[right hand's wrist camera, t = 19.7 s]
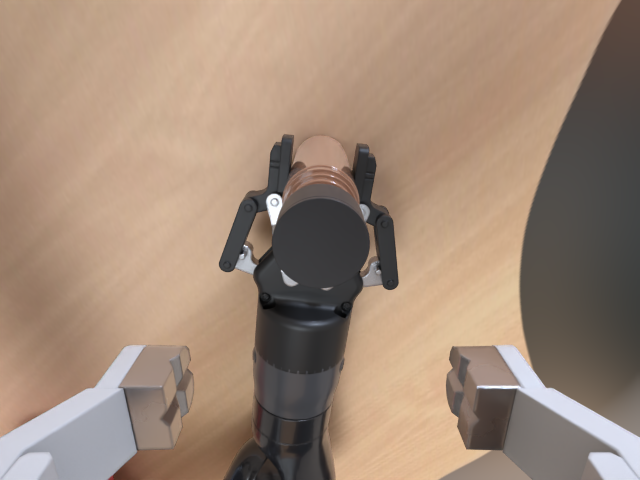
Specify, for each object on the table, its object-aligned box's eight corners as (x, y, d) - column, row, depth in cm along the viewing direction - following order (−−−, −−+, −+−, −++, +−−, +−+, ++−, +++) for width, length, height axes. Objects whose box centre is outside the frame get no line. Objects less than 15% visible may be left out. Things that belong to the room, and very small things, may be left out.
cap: (370, 256, 21) (376, 279, 19) (288, 271, 21) (284, 296, 19) (356, 175, 19) (361, 189, 17) (268, 192, 20) (260, 208, 17)
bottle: (351, 181, 36) (378, 277, 19) (300, 191, 36) (283, 294, 19) (341, 130, 34) (362, 184, 17) (289, 140, 34) (259, 204, 18)
